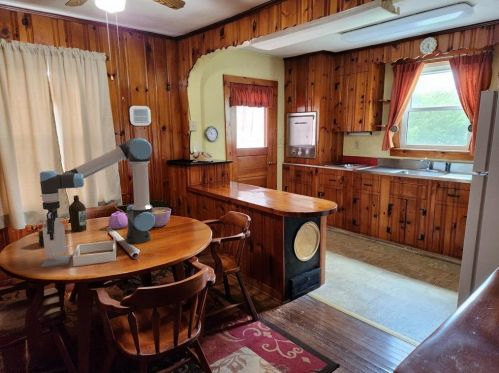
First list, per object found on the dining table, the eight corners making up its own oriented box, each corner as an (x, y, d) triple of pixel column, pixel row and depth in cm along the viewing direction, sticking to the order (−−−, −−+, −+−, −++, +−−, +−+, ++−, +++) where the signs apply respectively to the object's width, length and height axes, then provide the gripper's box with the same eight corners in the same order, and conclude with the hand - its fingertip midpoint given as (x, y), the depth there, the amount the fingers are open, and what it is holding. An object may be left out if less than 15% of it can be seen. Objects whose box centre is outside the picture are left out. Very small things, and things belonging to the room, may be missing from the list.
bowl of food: (142, 223, 242) (141, 208, 240) (168, 220, 250) (168, 206, 248) (145, 230, 224) (144, 214, 222) (174, 227, 232) (173, 212, 231)
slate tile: (71, 256, 177) (71, 254, 177) (68, 264, 166) (68, 262, 166) (46, 259, 173) (46, 257, 173) (41, 267, 162) (41, 266, 162)
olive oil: (66, 232, 221) (63, 196, 217) (77, 227, 231) (74, 193, 227) (80, 233, 219) (77, 197, 215) (90, 228, 230) (88, 194, 226)
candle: (52, 247, 192) (51, 231, 190) (38, 246, 194) (36, 230, 192) (65, 241, 202) (64, 226, 200) (52, 240, 204) (50, 225, 202)
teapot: (110, 224, 239) (109, 209, 238) (129, 223, 243) (128, 208, 241) (107, 232, 221) (105, 216, 219) (127, 230, 224) (126, 214, 223)
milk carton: (66, 252, 171) (63, 218, 168) (53, 257, 164) (50, 221, 161) (58, 250, 174) (54, 216, 171) (44, 254, 167) (41, 219, 164)
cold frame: (116, 248, 189) (115, 237, 188) (115, 260, 171) (114, 248, 170) (78, 253, 182) (77, 241, 181) (73, 266, 164) (72, 253, 163)
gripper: (47, 197, 173) (51, 237, 177) (37, 206, 153) (41, 250, 156) (62, 196, 176) (66, 235, 180) (55, 204, 155) (59, 248, 159)
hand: (54, 242), depth 168 cm, fingers closed on milk carton, 10 cm apart
